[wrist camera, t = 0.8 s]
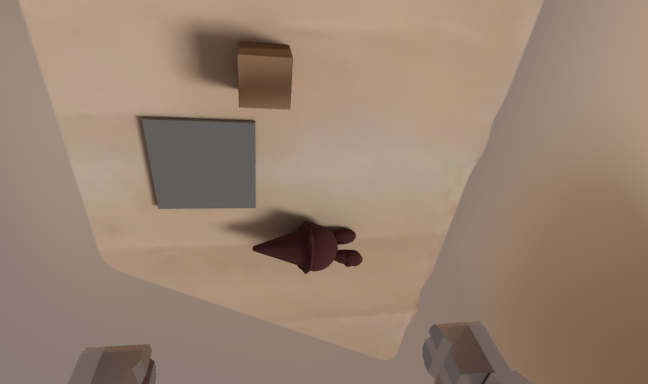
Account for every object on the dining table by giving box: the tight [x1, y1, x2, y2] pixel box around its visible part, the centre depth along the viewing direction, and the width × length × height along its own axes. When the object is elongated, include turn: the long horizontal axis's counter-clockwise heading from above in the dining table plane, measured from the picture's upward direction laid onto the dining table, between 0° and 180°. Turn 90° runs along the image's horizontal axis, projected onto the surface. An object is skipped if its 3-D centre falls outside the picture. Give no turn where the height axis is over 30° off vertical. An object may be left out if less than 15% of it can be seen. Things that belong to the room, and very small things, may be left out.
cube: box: [237, 42, 293, 109], centre depth 37 cm, size 5×5×5 cm
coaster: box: [142, 117, 255, 209], centre depth 44 cm, size 12×12×1 cm
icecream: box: [253, 222, 362, 274], centre depth 50 cm, size 7×7×15 cm
